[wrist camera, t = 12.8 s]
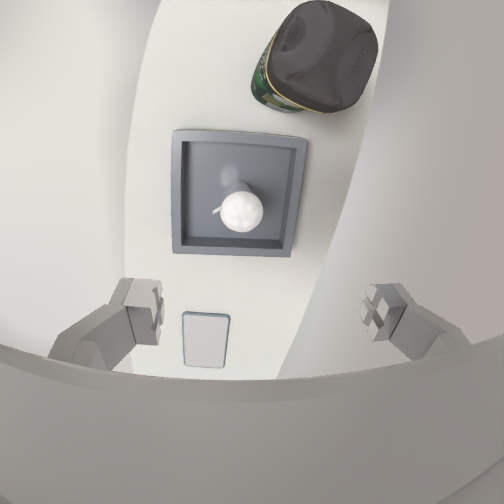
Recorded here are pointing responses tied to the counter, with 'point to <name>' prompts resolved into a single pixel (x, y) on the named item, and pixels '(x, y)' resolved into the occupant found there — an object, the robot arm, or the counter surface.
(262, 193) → the tray
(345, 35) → the coffee jar
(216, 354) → the smartphone
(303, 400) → the robot arm
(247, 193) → the milkshake
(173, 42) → the counter surface
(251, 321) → the counter surface
